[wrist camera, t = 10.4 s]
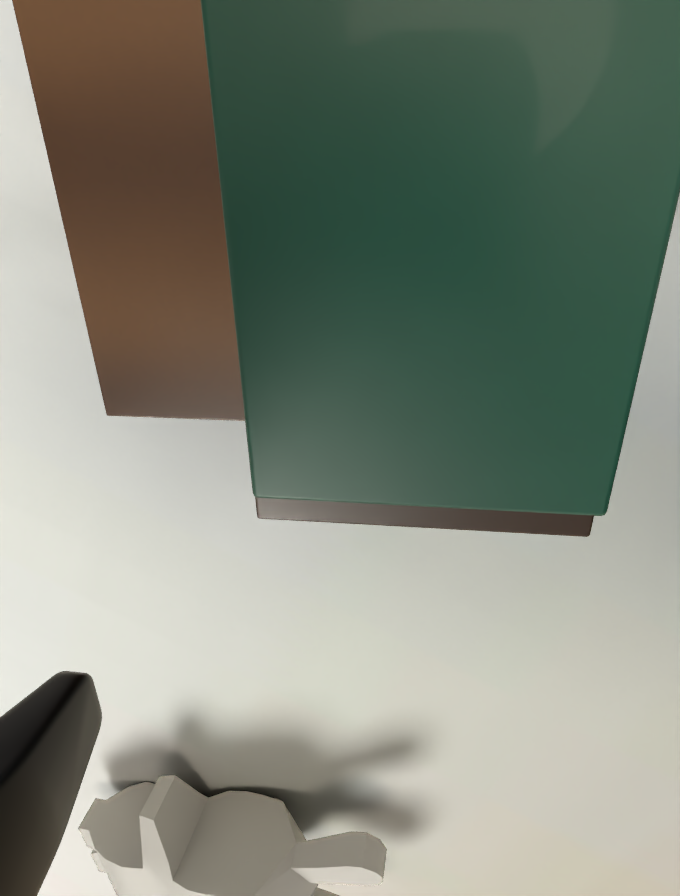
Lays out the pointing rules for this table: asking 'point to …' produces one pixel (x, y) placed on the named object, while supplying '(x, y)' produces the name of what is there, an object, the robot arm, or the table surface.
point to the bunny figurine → (219, 845)
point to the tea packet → (443, 240)
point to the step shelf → (166, 228)
